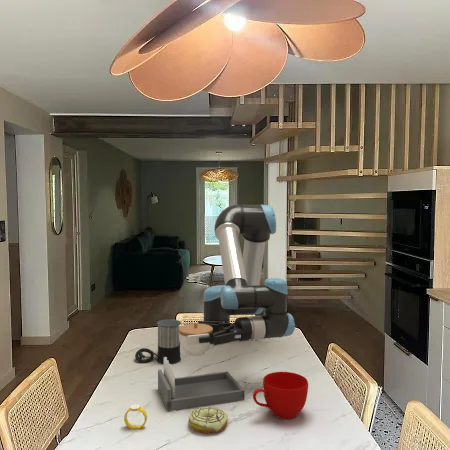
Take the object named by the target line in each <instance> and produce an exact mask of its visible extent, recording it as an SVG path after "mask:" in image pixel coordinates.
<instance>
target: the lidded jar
mask: <svg viewBox="0 0 450 450" xmlns="http://www.w3.org/2000/svg"><path fill="white" fill-rule="evenodd" d="M182 325H183V326H181V327H179V341H180V348H182V351H184V352H185V354H186V355H188V356H192V357H198V356H199V357H200V356H202V355H204V354H206V352H207V351H208V350H209V349H210V347H211V345H212V344H210V342H209V343H205V344H196V345H187V336H189V335H199V334H209V336H210V333H212V332H213V328H212V327H211V326H209V325H206V324H198V322H194V323H187V324H182Z"/></svg>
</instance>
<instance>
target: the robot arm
mask: <svg viewBox="0 0 450 450" xmlns="http://www.w3.org/2000/svg"><path fill="white" fill-rule="evenodd" d="M276 232H277V218H276V214H275V209H274V208H273V207H272V205H269V204H232V205H229V206H227V207H226V208H224V209H223V210H222V211H221V212H220V213H219V214H218V217H216V219H215V223H214V236H215V238H216V239H217V240H218V244H219V245H218V246H219V251H220V258H221V265H222V272H223V279H224V284H221V285H213V286H210V287H207V288H206V289H205V290H204V291H203V320H198V322H197V324H206V325H209V326H211V327H212V328H213V332H212V333H210V336H209V334H199V335H189V336H187V345H196V344H205V343H209V342H210V344H211V345H213V346H219V345H222V344H223V345H224V344H227V343H231V342H236V341H239V342H245V341H250V340H251V341H252V340H253V341H254V340H255V342H256V341H259V340H263V339H271V338H272V339H273V338H274V339H275V338H279V339H280V338H284V337H288V336H291V335H293V334H294V333H295V329H296V323H295V319H294V316H293V315H292V314H291V313H289V312H288V295H289V293H288V282H287V281H286V280H285V279H284V278H280V277H279V278H278V277H270V278H267V279H265V280H264V284H262V285H261V284H260V281H261V276H262V275H261V274H262V269H263V268H262V267H263V262H264V261H263V260H264V255H265V254H264V253H265V248H266V243H267V242H268V241H269V240H270V238H271V235H274V234H276ZM240 235H241V237H242V239H244V241H243V243H244V244H243V252H242V249H241V245H240V244H241V242H240V238H239V236H240ZM263 310H264V315H259V314H261V313H263ZM231 316H241V317H236V319H235V320H234V322H233V323H231V322H230V320H231V319H230V317H231ZM242 316H243V317H242ZM183 325H184V324H180V325H179V327H181V326H183Z"/></svg>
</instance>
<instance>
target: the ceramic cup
mask: <svg viewBox="0 0 450 450" xmlns="http://www.w3.org/2000/svg"><path fill="white" fill-rule="evenodd" d="M262 387H263V388H260V387H259V388H256V389H255V390H254V391H253V393H252V398H253V399H252V400H253V401H254V403H255V404H256V405H258V406H259V407H262V408H268V409H269V410H270V412H271V413H272V414H273V415H274V416H275V417H276V418H278V419H279V420H280V419H281V420H293V419H294V418H297V416H298V415H299V414H300V413H301V412H302V411H303V409H304V407H305V406H306V403H307V398H308V394H309V393H308V392H309V381H308V379H307V378H306V377H305V376H303V375H301V374H299V373H296V372H289V371H274V372H270V373H267V374H266V375H264V376H263V378H262ZM258 393H263V396H264V401H265V403H262V402H259V401H258V400H257V394H258Z"/></svg>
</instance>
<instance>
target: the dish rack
mask: <svg viewBox="0 0 450 450" xmlns="http://www.w3.org/2000/svg"><path fill="white" fill-rule="evenodd" d="M173 369H174V368H173V366H172V364H169V361H168V360H167V357H164V364H163V370H162V369H160V368H159V369H157V389H158V392H159V395H160V397H161V399H162V402H163V404H164V407H165V409H166V411H167V412H175V411H181V410H188V409H196V408H200V407H210V406H215V405H220V404H227V403H228V404H229V403H234V402H240V401H245V397H246V396H245V391H246V390H245V389H244V388H243V387H242V385H240V384H239V383H238V381H237V380H236V379H235V378H234V377H233V376H232V375H231V373H230V372H229V371H222V372H212V373H206V374H205V373H204V374H196V375H189V376H183V377H181V376H179V377H176V371H175V370H173Z"/></svg>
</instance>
